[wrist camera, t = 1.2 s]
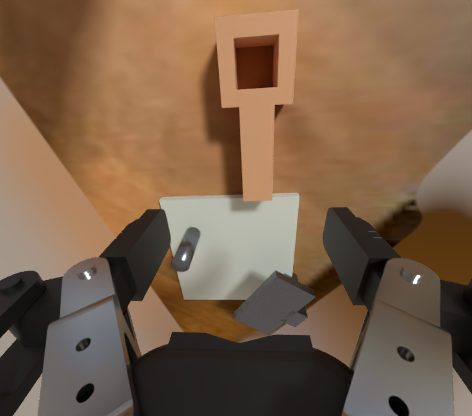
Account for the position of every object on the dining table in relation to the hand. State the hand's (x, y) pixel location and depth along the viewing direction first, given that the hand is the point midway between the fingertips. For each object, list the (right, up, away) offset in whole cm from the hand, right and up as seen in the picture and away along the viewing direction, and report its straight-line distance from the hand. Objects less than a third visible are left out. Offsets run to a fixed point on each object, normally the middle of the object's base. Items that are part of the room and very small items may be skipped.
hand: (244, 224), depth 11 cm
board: (-1, -6, +20) cm, 21 cm away
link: (+2, +10, +12) cm, 15 cm away
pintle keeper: (+1, -7, +21) cm, 22 cm away
